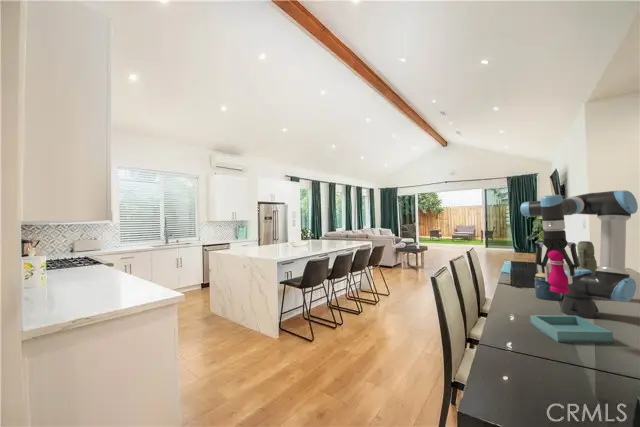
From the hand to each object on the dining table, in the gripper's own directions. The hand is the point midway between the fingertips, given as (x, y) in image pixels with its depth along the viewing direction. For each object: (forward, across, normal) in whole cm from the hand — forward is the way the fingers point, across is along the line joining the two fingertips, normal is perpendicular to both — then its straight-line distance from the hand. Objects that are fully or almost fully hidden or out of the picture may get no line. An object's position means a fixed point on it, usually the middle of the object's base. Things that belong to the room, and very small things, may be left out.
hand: (558, 281), depth 122 cm
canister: (+26, -23, +64) cm, 73 cm away
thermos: (+26, -7, +80) cm, 85 cm away
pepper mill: (+4, 0, 0) cm, 4 cm away
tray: (+24, 0, +7) cm, 25 cm away
